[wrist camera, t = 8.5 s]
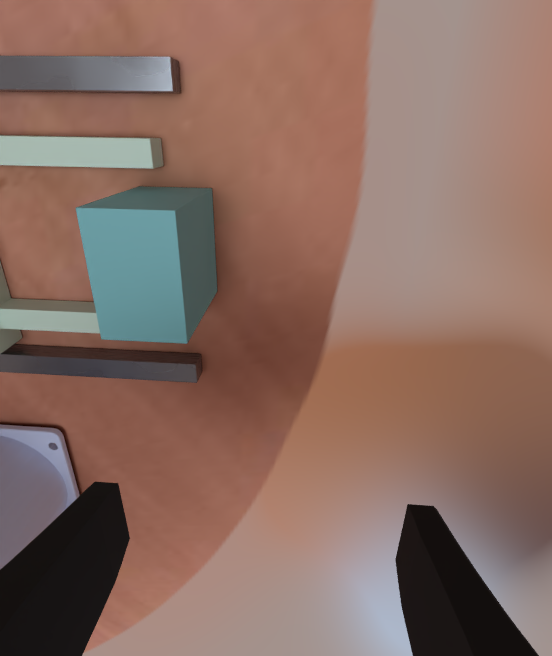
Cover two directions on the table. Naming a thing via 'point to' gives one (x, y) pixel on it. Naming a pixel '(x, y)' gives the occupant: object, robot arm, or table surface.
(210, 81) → the table surface
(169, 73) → the lane rails
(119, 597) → the table surface
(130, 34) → the table surface
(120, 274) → the two-compartment tray
